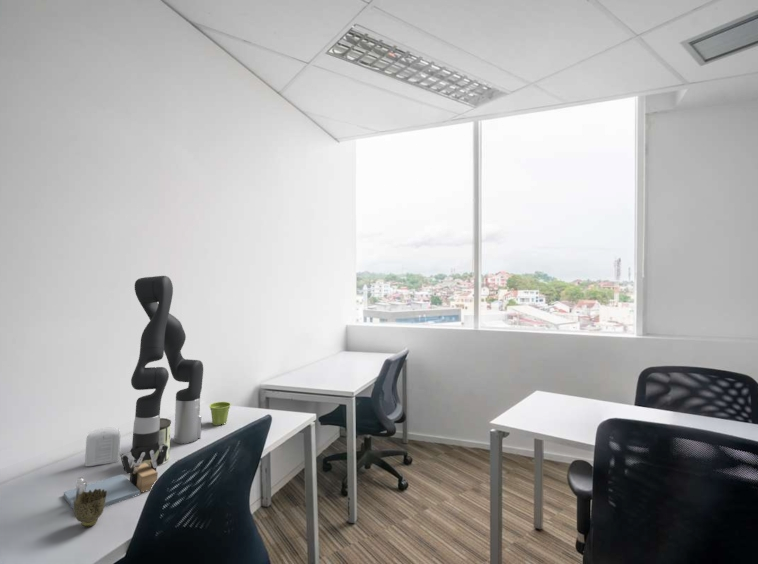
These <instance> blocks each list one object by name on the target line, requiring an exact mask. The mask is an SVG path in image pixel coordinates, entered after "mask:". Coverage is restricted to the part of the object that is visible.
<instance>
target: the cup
mask: <svg viewBox="0 0 758 564" xmlns="http://www.w3.org/2000/svg"><path fill="white" fill-rule="evenodd" d="M106 495H107V491H105V492H104V489H103V490H102V492H101V489H98V490H97V489H95V490H94V491H93V493H92V491H91V490H89V492H84V491H83V492H82V493H81V494H78V495H77V499H74V500H73V501H74V510H73V512H74V515H75V518H76V520H77V521H78V522H80V526H82V528H90V527H92V526H95V525H97V522H98V518H99V517H101V515H102V514H103V513H104V509H105V507H104V506H105V501H106Z"/></svg>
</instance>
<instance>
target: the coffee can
mask: <svg viewBox="0 0 758 564" xmlns="http://www.w3.org/2000/svg"><path fill="white" fill-rule="evenodd" d="M171 424H172V420H171V419H168V418H163V417H160V431H159V442H158V443H159V445H162V444H165V445H166V446H168V449H167V452H166V455H165V458H164V461H163V464H161V465H158V466H157V467H160V466H162V465H165V464H166V463H168V462H169V460H170V449H171V448H170V446H171V445H170V444H171ZM158 454H159V449H158V451H157V452H156V453H155V458H156V460H157V457H158ZM141 463H147V464H148V465H149V466H150V467H151V465H150V462H149V460H145V461H143V462H141Z"/></svg>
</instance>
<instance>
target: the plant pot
mask: <svg viewBox="0 0 758 564" xmlns="http://www.w3.org/2000/svg"><path fill="white" fill-rule="evenodd" d="M231 405H232V404H231V402H227V401H217V402H212V403H210V404H209V406H208V407H209V408H210V411H211V412H210V414H211V420H212V425H214V426H220V425H221V424H224V423H226V422H227V421H228V416H229V410H230V408H231ZM227 423H228V422H227ZM227 423H226V424H227ZM224 425H225V424H224ZM221 426H222V425H221Z"/></svg>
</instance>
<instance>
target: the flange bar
mask: <svg viewBox="0 0 758 564" xmlns="http://www.w3.org/2000/svg"><path fill="white" fill-rule="evenodd" d="M130 468H131V466H130ZM130 474H131V473H129V475H130ZM128 480H129V481H130V479H128ZM156 480H157V481H158V471H157V470H156V471H155V470H154V469H153V468H151V467H150V466H149V465H148V464H147V463H141V465H140V466H139V468H138V470H137V484H136V485H135V486H136V487H137V488H138V489H139V490H140V493H141V492H143V491H146V490H148V491H146V492H149V491H151V490H150V489H151V487H152V485H153V484H154V482H155V481H156ZM143 493H144V492H143Z"/></svg>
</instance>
